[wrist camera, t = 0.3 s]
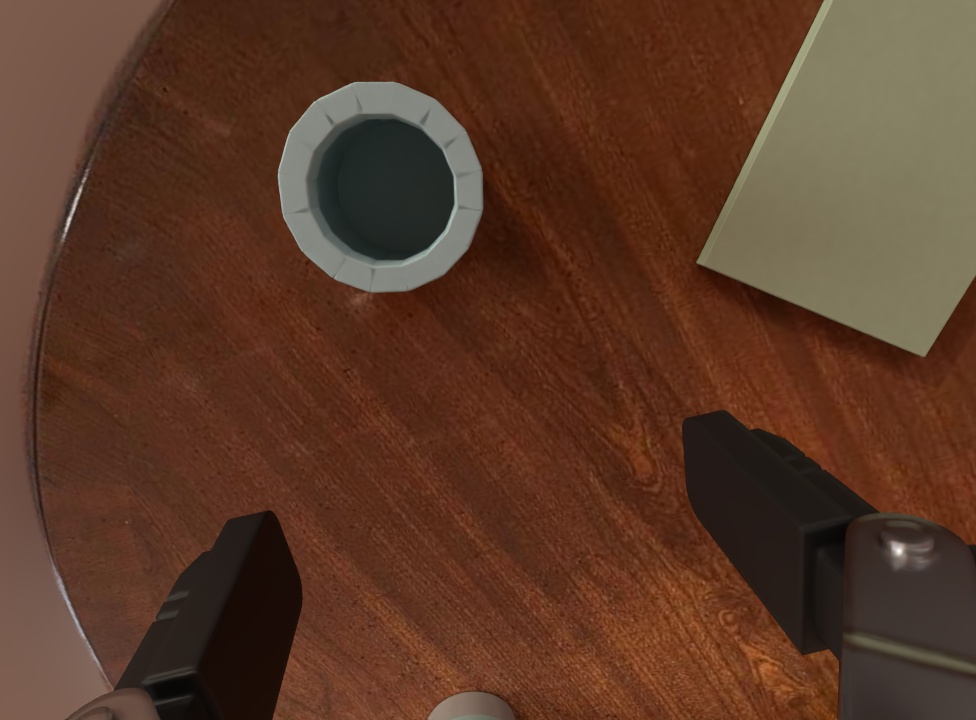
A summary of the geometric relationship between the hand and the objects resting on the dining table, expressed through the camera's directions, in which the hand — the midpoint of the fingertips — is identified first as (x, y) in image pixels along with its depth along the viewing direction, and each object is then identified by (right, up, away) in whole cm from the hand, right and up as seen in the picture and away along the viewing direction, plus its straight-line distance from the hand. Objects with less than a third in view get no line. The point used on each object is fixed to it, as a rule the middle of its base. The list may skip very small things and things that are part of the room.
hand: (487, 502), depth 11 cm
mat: (+21, +14, +17) cm, 30 cm away
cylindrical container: (-4, +11, +16) cm, 19 cm away
